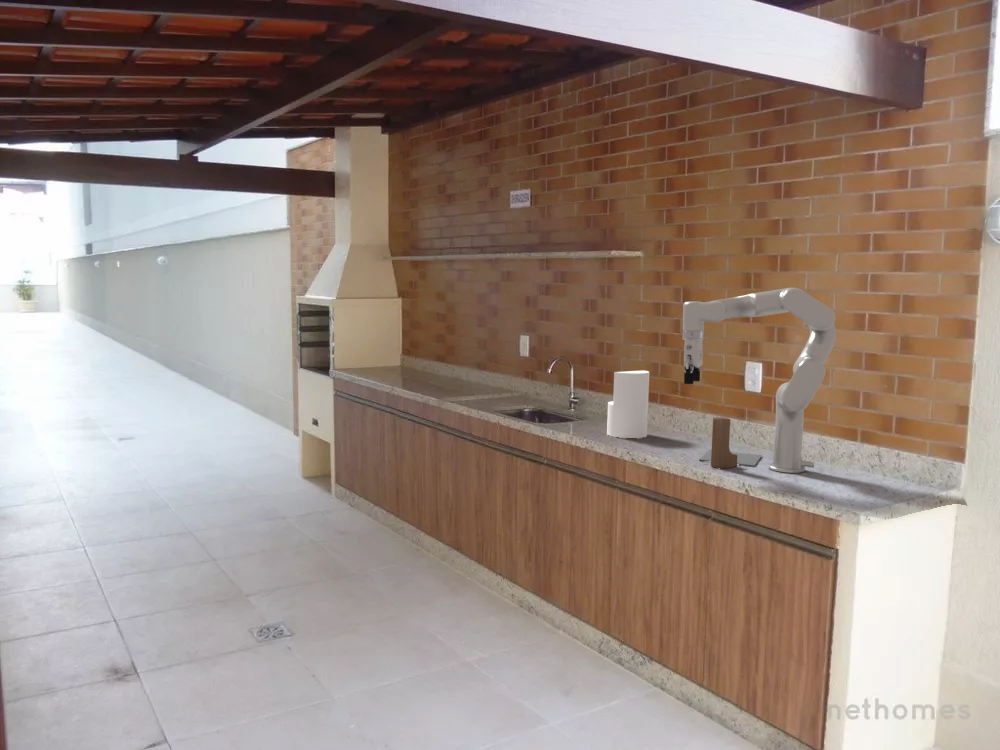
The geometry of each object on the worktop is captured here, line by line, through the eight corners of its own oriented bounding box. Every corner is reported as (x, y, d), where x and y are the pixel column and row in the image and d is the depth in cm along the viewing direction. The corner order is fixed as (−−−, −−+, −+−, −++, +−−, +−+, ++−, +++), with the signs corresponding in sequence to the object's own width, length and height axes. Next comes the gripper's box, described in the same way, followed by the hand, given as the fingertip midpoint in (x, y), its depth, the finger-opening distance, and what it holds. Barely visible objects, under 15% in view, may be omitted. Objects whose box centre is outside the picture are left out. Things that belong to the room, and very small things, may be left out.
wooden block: (728, 464, 302) (730, 416, 300) (737, 466, 298) (739, 418, 296) (710, 466, 298) (712, 417, 296) (719, 469, 294) (721, 419, 292)
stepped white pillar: (655, 436, 356) (657, 372, 353) (625, 440, 346) (628, 374, 343) (627, 430, 370) (630, 368, 367) (598, 433, 360) (600, 370, 357)
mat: (761, 456, 317) (761, 455, 317) (754, 466, 299) (754, 465, 299) (709, 451, 326) (709, 449, 326) (699, 461, 307) (699, 459, 307)
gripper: (697, 337, 287) (696, 385, 289) (708, 334, 303) (707, 380, 305) (676, 336, 291) (675, 384, 293) (688, 334, 306) (687, 379, 308)
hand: (692, 382), depth 299 cm, fingers open, 9 cm apart
